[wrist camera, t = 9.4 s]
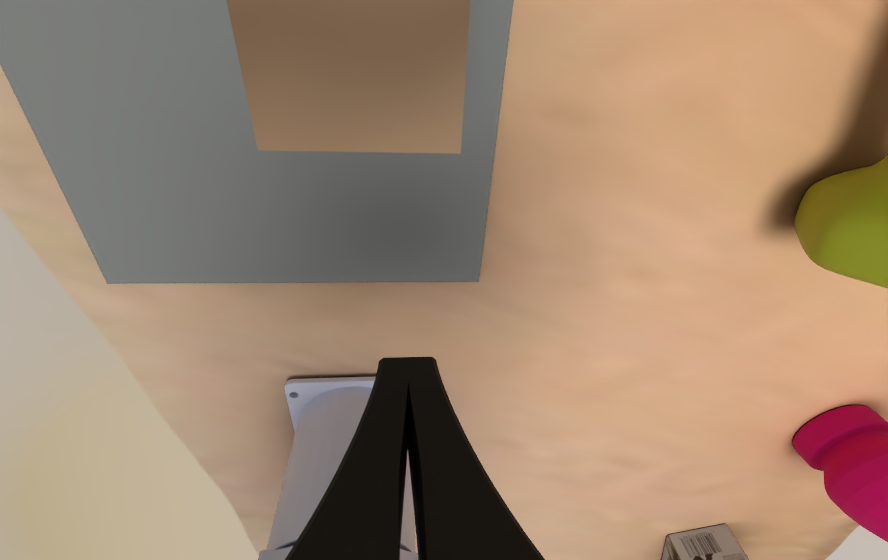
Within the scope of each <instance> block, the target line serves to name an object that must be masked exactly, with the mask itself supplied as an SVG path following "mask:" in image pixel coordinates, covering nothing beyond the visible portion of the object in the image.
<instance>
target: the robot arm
mask: <svg viewBox="0 0 888 560" xmlns="http://www.w3.org/2000/svg"><path fill="white" fill-rule="evenodd" d="M284 390H285V395H286V399H287V403H288V407H289V411H290V416H291V420H292V424H293V428H294V432H295V437H294V441H293V445H292V449H291V453H290V457H289V461H288V465H287V469H286V473H285V477H284V481H283V485H282V489H281V493H280V497H279V501H278V505H277V509H276V513H275V517H274V521H273V525H272V529H271V533H270V537H269V541H268V545H267V549H266V550H262V551H261V552H260V554H259V558H258V560H545V559H544V558H543V556H542V555H541V554H540V552H539V551H538V550H537V548H536V547H535V546H534V544H533V543H532V542H531V540H530V539H529V538H528V536H527V535H526V533H525V532H524V531H523V529H522V528H521V526H520V525H519V523H518V522H517V520H516V519H515V517H514V516H513V514H512V513H511V511H510V510H509V508H508V507H507V505H506V504H505V502H504V501H503V499H502V498H501V496H500V494H499V493H498V491H497V490H496V488H495V487H494V485H493V483H492V482H491V480H490V478H489V477H488V475H487V473H486V471H485V470H484V468H483V466H482V464H481V463H480V461H479V459H478V457H477V455H476V454H475V452H474V450H473V448H472V446H471V444H470V443H469V441H468V439H467V437H466V435H465V433H464V431H463V429H462V427H461V424H460V422H459V420H458V418H457V416H456V414H455V412H454V410H453V407H452V405H451V403H450V400H449V398H448V395H447V393H446V391H445V388H444V385H443V383H442V380H441V377H440V374H439V370H438V367H437V363H436V360H435V359H434V358H433V357H401V358H383V359H381V360H380V361H379V365H378V370H377V374H376V377H345V378H311V379H290V380H288V381H287V382H286V383H285V386H284ZM293 392H296V393H293ZM414 516H415V517H414ZM415 525H416V535H417V547H418V553H416V551H415Z"/></svg>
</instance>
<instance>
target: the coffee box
mask: <svg viewBox="0 0 888 560" xmlns="http://www.w3.org/2000/svg"><path fill="white" fill-rule="evenodd" d="M662 560H749V559H748V557H747V556H746V554H745V553H744V551H743V549H742V548H741V546H740V545H739V543H738V542H737V540H736V539H735V537H734V536H733V534H732V532H731V531H730V529H729V528H728V526H727V525H726V524H721V525H716V526H711V527H706V528H700V529H695V530H690V531H685V532H679V533H674V534H669V535H667V538H666V542H665V547H664V551H663V556H662Z"/></svg>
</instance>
